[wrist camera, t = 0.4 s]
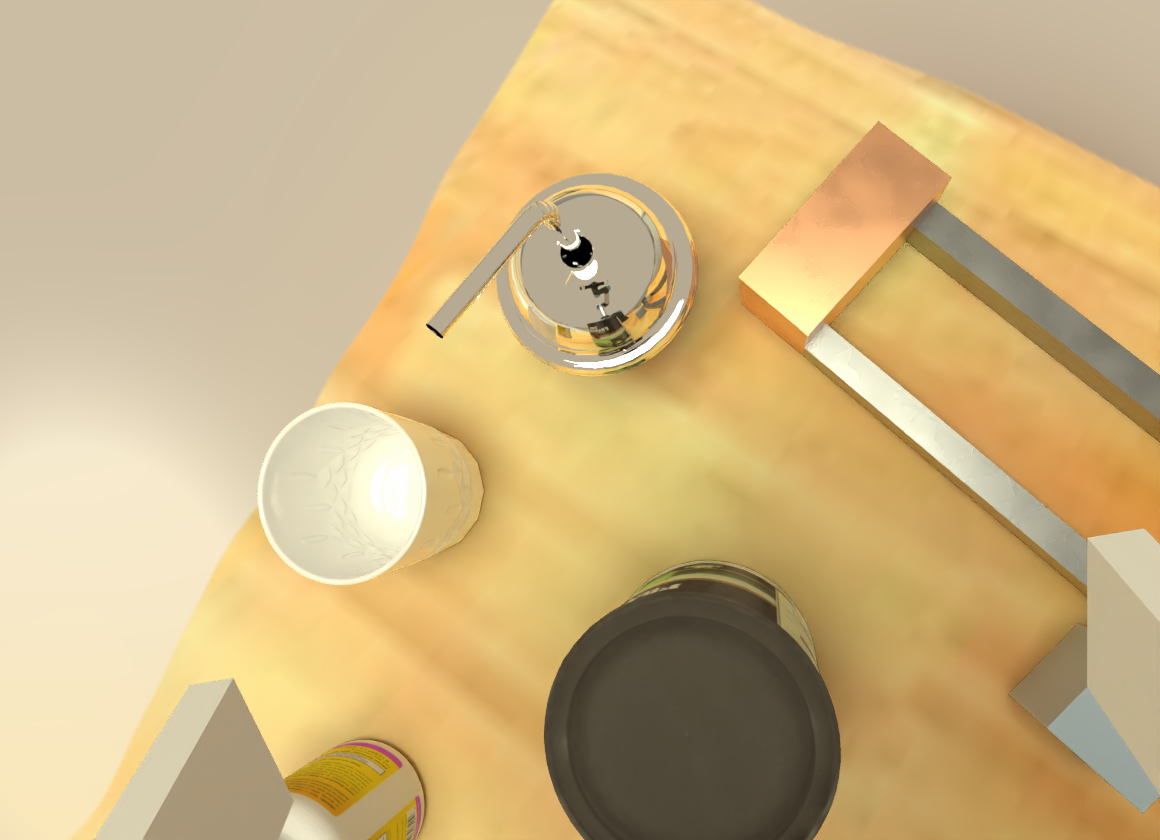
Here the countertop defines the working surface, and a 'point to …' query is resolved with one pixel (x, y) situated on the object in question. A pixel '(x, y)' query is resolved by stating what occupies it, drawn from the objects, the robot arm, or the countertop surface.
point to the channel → (911, 213)
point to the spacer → (1082, 718)
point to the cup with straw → (588, 275)
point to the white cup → (364, 493)
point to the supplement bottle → (355, 796)
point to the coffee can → (695, 715)
